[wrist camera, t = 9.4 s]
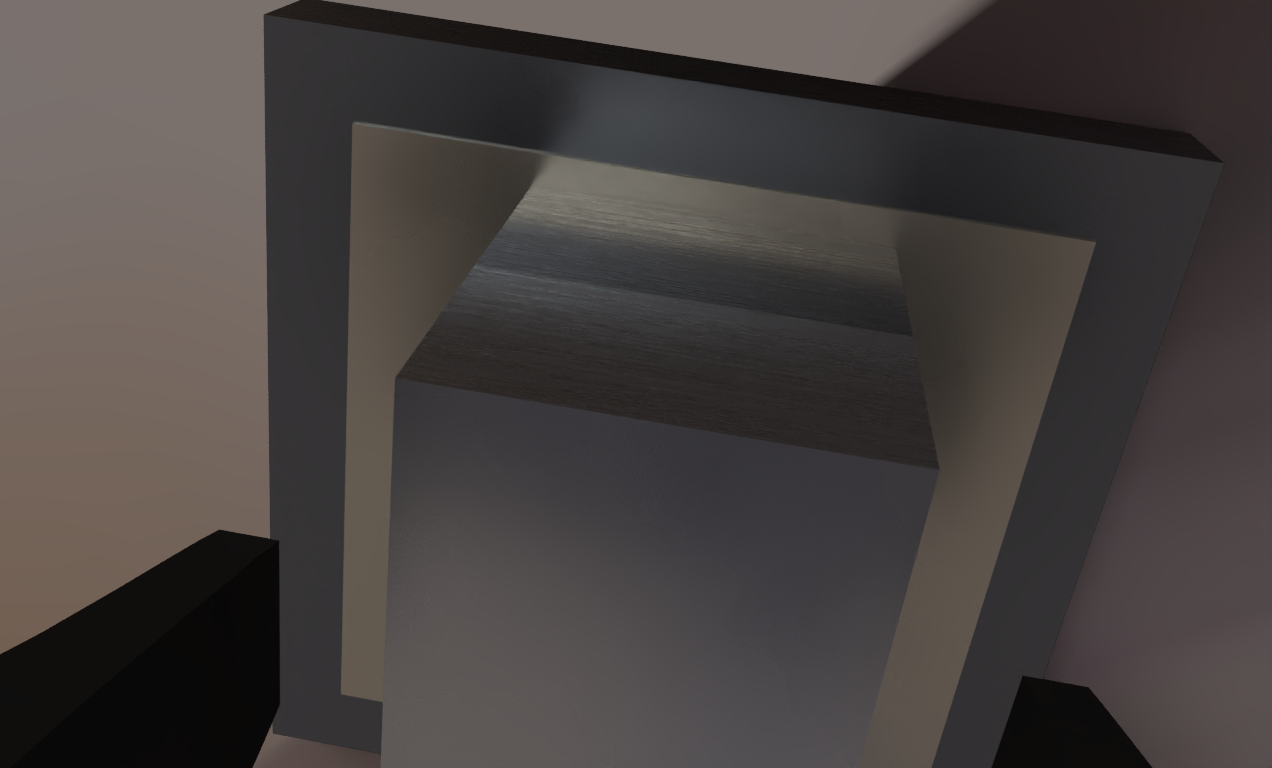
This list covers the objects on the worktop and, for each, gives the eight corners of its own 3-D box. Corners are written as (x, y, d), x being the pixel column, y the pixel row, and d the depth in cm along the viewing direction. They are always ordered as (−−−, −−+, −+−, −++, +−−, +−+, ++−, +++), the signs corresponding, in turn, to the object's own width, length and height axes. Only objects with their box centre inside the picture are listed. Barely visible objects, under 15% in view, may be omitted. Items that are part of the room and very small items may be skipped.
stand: (966, 802, 18) (976, 870, 17) (304, 678, 18) (271, 735, 17) (1190, 133, 13) (1225, 164, 12) (306, -2, 14) (261, 14, 13)
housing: (780, 742, 16) (771, 1085, 12) (486, 687, 16) (371, 1005, 12) (896, 248, 13) (939, 470, 9) (529, 189, 13) (394, 377, 9)
